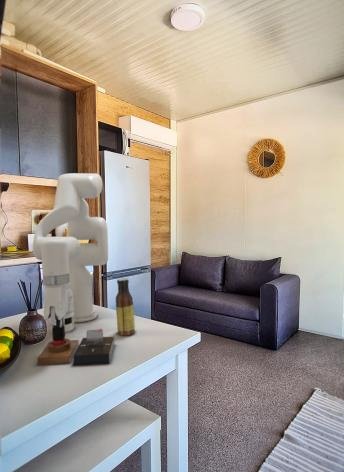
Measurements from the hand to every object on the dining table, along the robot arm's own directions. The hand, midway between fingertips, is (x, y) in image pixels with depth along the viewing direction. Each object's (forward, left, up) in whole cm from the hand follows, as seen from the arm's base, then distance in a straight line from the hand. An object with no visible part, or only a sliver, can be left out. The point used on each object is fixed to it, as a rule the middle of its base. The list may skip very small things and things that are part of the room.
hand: (59, 339), depth 94 cm
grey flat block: (+1, +11, -2) cm, 11 cm away
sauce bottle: (-16, +19, -5) cm, 25 cm away
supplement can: (-22, -5, -5) cm, 23 cm away
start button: (0, 0, -2) cm, 2 cm away
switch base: (+1, +11, -5) cm, 12 cm away
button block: (0, 0, -5) cm, 5 cm away
